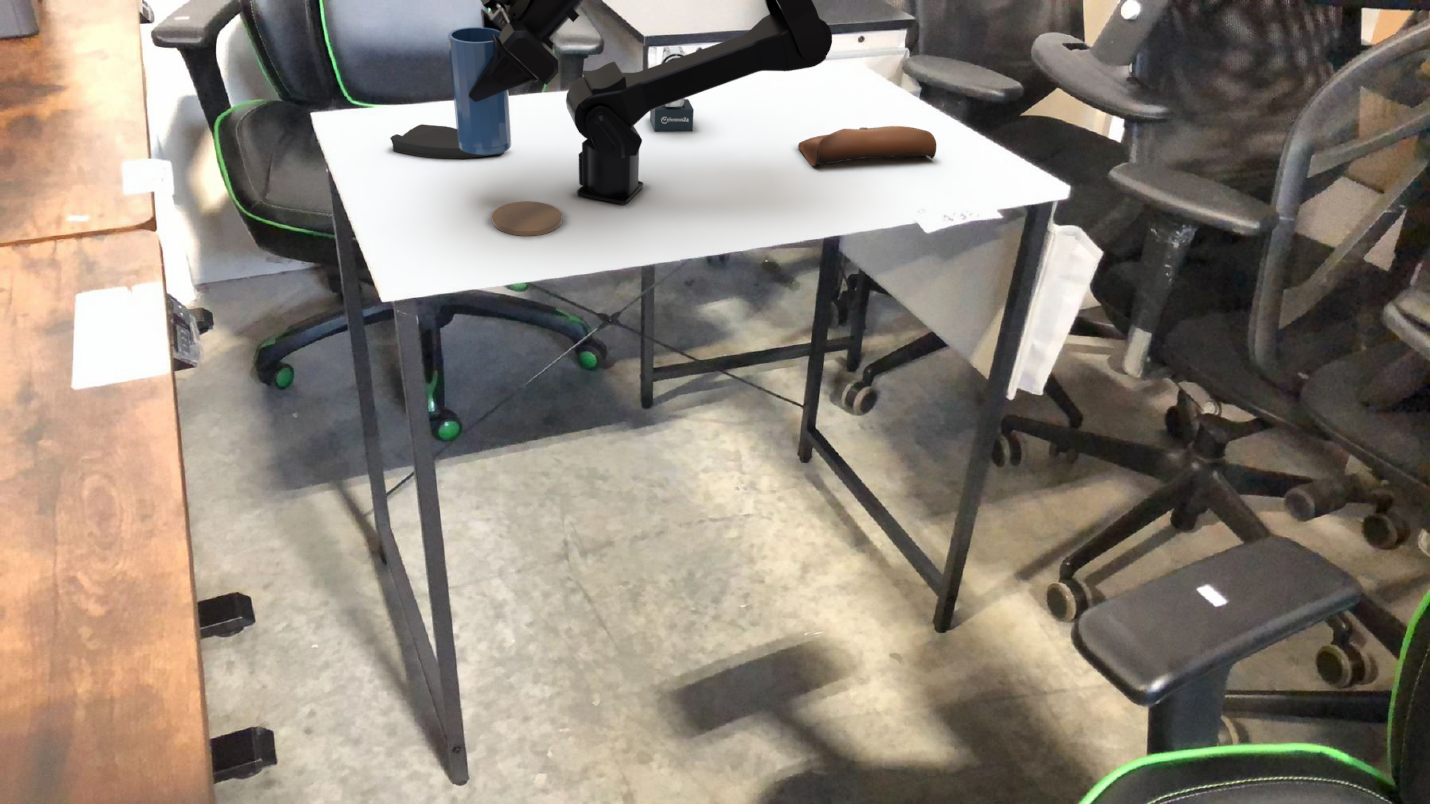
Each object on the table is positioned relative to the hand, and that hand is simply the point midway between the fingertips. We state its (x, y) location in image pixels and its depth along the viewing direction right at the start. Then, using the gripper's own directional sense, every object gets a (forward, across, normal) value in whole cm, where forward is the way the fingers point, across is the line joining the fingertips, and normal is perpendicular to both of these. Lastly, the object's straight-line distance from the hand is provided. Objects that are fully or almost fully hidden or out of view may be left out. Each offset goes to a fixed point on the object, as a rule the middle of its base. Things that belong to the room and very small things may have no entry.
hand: (468, 89), depth 111 cm
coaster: (+6, +6, +13) cm, 16 cm away
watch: (-12, -21, +31) cm, 39 cm away
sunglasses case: (-28, -6, +48) cm, 56 cm away
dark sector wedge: (+11, -17, +8) cm, 22 cm away
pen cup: (+4, 0, +6) cm, 7 cm away
